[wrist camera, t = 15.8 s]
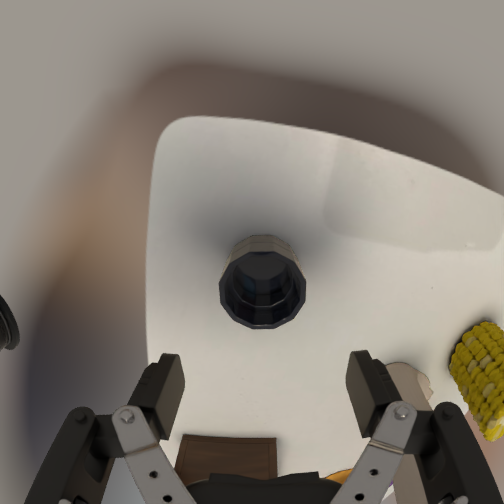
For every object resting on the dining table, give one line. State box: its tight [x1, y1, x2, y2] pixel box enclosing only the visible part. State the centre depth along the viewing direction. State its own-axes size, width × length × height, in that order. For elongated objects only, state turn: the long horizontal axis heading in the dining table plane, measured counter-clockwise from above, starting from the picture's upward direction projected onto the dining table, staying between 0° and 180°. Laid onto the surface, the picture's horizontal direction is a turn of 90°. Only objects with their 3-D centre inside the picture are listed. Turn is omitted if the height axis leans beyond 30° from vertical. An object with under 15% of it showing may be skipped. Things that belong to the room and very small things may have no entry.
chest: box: [174, 434, 277, 486], centre depth 30 cm, size 20×13×12 cm, turn 2°
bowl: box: [219, 235, 306, 329], centre depth 23 cm, size 6×6×5 cm
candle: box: [386, 363, 433, 504], centre depth 20 cm, size 7×14×20 cm, turn 57°
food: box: [449, 321, 504, 442], centre depth 21 cm, size 15×12×10 cm
